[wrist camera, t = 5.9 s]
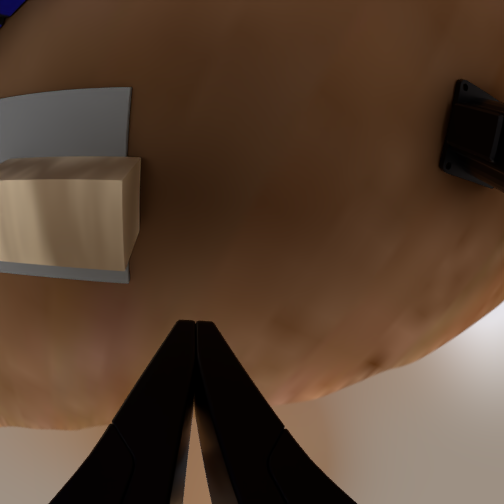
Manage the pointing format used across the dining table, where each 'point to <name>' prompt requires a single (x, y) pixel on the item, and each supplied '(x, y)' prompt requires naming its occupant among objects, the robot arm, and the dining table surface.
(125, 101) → the mat
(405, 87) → the dining table surface
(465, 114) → the robot arm
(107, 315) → the dining table surface
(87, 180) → the pillar
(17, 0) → the puzzle cube
